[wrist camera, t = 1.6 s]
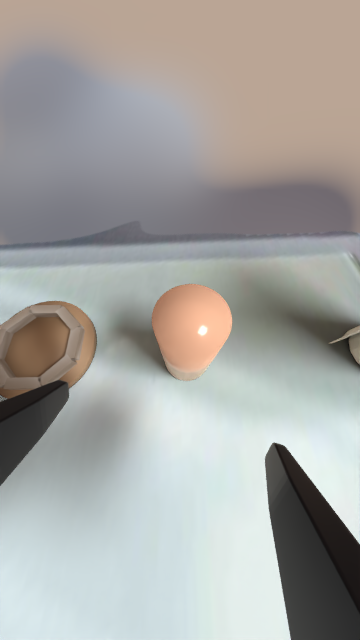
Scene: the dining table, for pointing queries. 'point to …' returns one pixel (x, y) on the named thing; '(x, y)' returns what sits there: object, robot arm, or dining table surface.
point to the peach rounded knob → (190, 329)
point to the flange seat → (45, 347)
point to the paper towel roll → (353, 342)
